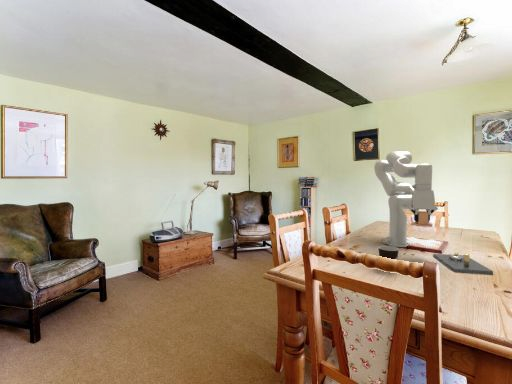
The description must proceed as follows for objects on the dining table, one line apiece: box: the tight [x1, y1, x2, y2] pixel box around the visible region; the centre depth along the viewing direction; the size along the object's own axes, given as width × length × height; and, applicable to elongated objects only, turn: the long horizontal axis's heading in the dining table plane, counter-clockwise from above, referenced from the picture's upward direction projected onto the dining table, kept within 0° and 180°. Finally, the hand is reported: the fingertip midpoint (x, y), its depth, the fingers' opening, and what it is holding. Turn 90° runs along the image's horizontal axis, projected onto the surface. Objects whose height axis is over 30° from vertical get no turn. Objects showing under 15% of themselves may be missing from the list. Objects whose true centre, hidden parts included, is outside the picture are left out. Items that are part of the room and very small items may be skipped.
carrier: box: [432, 252, 494, 276], centre depth 131 cm, size 15×23×7 cm, turn 167°
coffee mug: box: [377, 245, 400, 260], centre depth 127 cm, size 12×9×10 cm
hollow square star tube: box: [410, 210, 433, 228], centre depth 142 cm, size 10×10×7 cm
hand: (421, 221), depth 142 cm, fingers closed on hollow square star tube, 4 cm apart
